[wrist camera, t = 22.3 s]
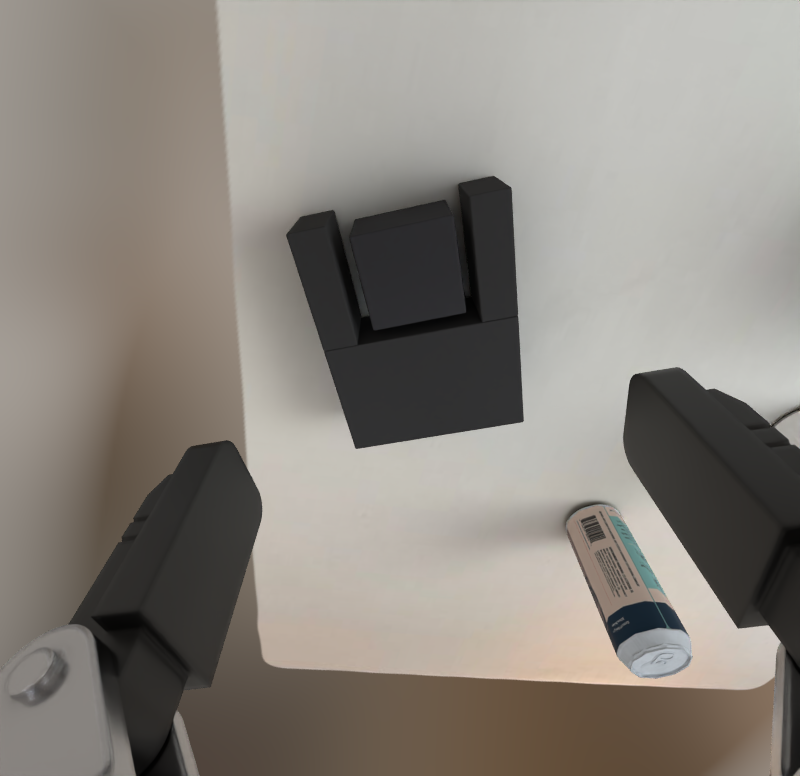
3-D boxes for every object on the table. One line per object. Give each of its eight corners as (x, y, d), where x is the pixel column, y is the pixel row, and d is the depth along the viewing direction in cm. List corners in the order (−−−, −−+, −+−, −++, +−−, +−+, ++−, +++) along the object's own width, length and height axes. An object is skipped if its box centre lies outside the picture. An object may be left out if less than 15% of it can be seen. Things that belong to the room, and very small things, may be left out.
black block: (375, 304, 28) (373, 331, 24) (354, 219, 25) (348, 236, 22) (457, 287, 27) (466, 313, 24) (445, 199, 24) (453, 214, 21)
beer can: (555, 534, 40) (611, 679, 30) (575, 497, 37) (643, 642, 27) (605, 539, 40) (676, 683, 30) (628, 503, 38) (714, 647, 28)
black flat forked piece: (299, 216, 25) (285, 234, 21) (494, 175, 24) (511, 186, 20) (359, 413, 32) (355, 449, 29) (509, 388, 31) (524, 422, 28)
